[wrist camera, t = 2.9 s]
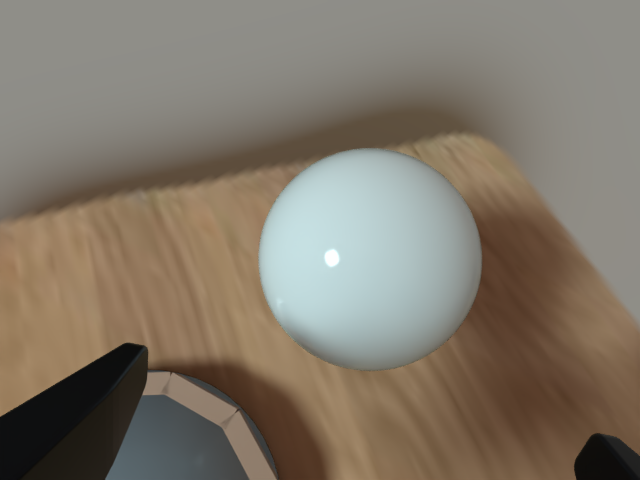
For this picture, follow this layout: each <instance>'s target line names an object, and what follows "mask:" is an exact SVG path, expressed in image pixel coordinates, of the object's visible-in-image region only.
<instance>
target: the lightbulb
mask: <svg viewBox="0 0 640 480" xmlns="http://www.w3.org/2000/svg"><path fill="white" fill-rule="evenodd" d="M258 263H259V274H260V280H261V285H262V289H263V292H264V295H265V298H266V301H267V303H268V305H269V307H270V309H271V311H272V313H273V315H274V317H275V318H276V320H277V321H278V323H279V324H280V326H281V327H282V328H283V330H284V331H285V332H286V333H287V334H288V335H289V336H290V337H291V338H292V339H293V340H294V341H295V342H296V343H297V344H298V345H299V346H301V347H302V348H303V349H305V350H306V351H307V352H309V353H310V354H312V355H314V356H315V357H317V358H319V359H321V360H323V361H325V362H328V363H330V364H333V365H336V366H339V367H343V368H347V369H352V370H360V371H382V370H390V369H395V368H399V367H402V366H406V365H408V364H411V363H414V362H416V361H418V360H420V359H422V358H424V357H426V356H428V355H429V354H431V353H432V352H434V351H435V350H437V349H438V348H439V347H441V346H442V345H443V344H444V343H445V342H446V341H448V340H449V339H450V338H451V336H452V335H453V334H454V333H455V332H456V331H457V330H458V328H459V327H460V326H461V324H462V323H463V321H464V320H465V318H466V317H467V315H468V313H469V311H470V309H471V307H472V305H473V303H474V301H475V298H476V295H477V292H478V289H479V285H480V280H481V273H482V248H481V241H480V236H479V232H478V228H477V225H476V222H475V220H474V217H473V215H472V213H471V211H470V209H469V207H468V205H467V203H466V202H465V200H464V199H463V197H462V196H461V194H460V193H459V192H458V190H457V189H456V188H455V187H454V186H453V185H452V183H451V182H450V181H449V180H448V179H447V178H445V177H444V176H443V175H442V174H441V173H440V172H438V171H437V170H436V169H434V168H433V167H431V166H430V165H428V164H426V163H424V162H423V161H421V160H419V159H417V158H414V157H412V156H409V155H406V154H403V153H400V152H396V151H392V150H386V149H376V148H364V149H354V150H348V151H344V152H340V153H337V154H333V155H331V156H328V157H326V158H323V159H321V160H319V161H317V162H315V163H314V164H312V165H310V166H309V167H307V168H306V169H304V170H303V171H302V172H301V173H299V174H298V175H297V176H296V177H295V178H294V179H293V180H292V181H291V182H290V183H289V184H288V185H287V186H286V187H285V188H284V189H283V191H282V192H281V193H280V194H279V196H278V197H277V199H276V200H275V202H274V204H273V205H272V207H271V209H270V211H269V213H268V215H267V218H266V220H265V223H264V226H263V229H262V233H261V238H260V243H259V254H258Z"/></svg>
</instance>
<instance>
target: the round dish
mask: <svg viewBox="0 0 640 480" xmlns="http://www.w3.org/2000/svg"><path fill="white" fill-rule="evenodd" d="M105 480H279V478H278V473H277V470H276V466H275V463H274V460H273V457H272V454H271V452H270V450H269V448H268V446H267V443H266V441H265V439H264V437H263V436H262V434H261V432H260V431H259V429H258V428H257V426H256V425H255V423H254V422H253V420H252V419H251V418H250V417H249V416H248V415H247V413H246V412H245V411H244V410H243V409H242V408H241V407H240V406H239V405H238V404H237V403H236V402H235V401H234V400H232V399H231V398H230V397H229V396H228V395H226V394H225V393H223V392H222V391H220V390H219V389H217V388H216V387H214V386H212V385H210V384H208V383H205V382H203V381H201V380H199V379H196V378H193V377H190V376H187V375H184V374H180V373H174V372H168V371H162V370H148V372H147V382H146V386H145V389H144V392H143V394H142V397H141V399H140V401H139V404H138V406H137V409H136V411H135V413H134V416H133V418H132V421H131V423H130V425H129V428H128V430H127V433H126V435H125V437H124V440H123V442H122V445H121V447H120V449H119V452H118V454H117V456H116V459H115V461H114V463H113V465H112V467H111V469H110V471H109V473H108V475H107V477H106V479H105Z"/></svg>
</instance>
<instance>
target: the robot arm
mask: <svg viewBox="0 0 640 480" xmlns="http://www.w3.org/2000/svg"><path fill="white" fill-rule="evenodd" d="M147 372H148V349H147V347H146V346H144V345H139V344H134V343H124V344H122V345H121V346H119V347H117V348H115V349H114V350H112V351H110V352H109V353H107V354H105V355H104V356H102V357H100V358H99V359H97V360H95V361H94V362H92V363H90V364H88V365H87V366H85V367H83V368H82V369H80V370H78V371H77V372H75V373H73V374H72V375H70V376H68V377H67V378H65V379H63V380H62V381H60V382H58V383H56V384H55V385H53V386H51V387H50V388H48V389H46V390H45V391H43V392H41V393H40V394H38V395H36V396H35V397H33V398H31V399H29V400H28V401H26V402H24V403H23V404H21V405H19V406H18V407H16V408H14V409H13V410H11V411H9V412H8V413H6V414H4V415H2V416H1V417H0V480H105V479H106V477H107V475H108V473H109V471H110V469H111V467H112V465H113V463H114V461H115V459H116V456H117V454H118V452H119V449H120V447H121V445H122V442H123V440H124V437H125V435H126V433H127V430H128V428H129V425H130V423H131V421H132V418H133V416H134V413H135V411H136V409H137V406H138V404H139V401H140V399H141V397H142V394H143V392H144V389H145V386H146V382H147ZM574 471H575V476H576V480H640V456H639V455H638V454H637V453H635V452H634V451H633V450H632V449H631V448H629V447H628V446H627V445H626V444H625V443H623V442H622V441H621V440H620V439H618V438H617V437H614V436H610V435H605V434H600V433H596V434H593V435H592V436H591V437H590V438H589V439H588V441H587V442H586V444H585V446H584V447H583V449H582V450H581V452H580V453H579V455H578V456H577V458H576V460H575V464H574Z"/></svg>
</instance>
